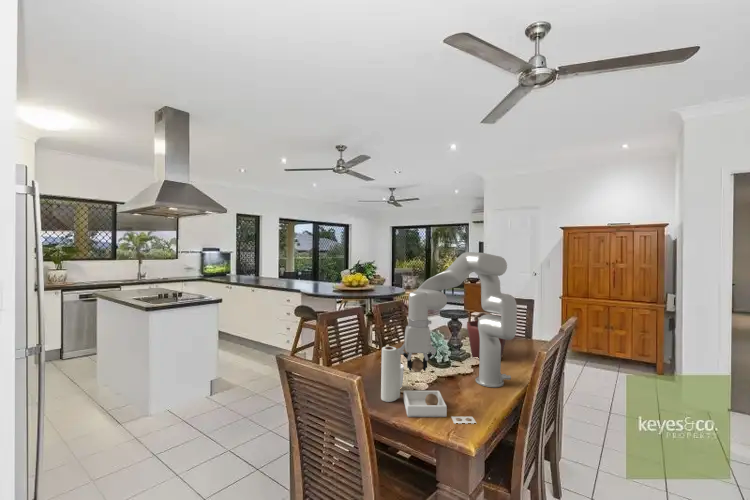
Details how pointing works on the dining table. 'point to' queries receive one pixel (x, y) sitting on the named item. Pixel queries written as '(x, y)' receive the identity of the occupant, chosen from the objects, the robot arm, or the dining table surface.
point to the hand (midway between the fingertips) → (417, 369)
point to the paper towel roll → (390, 374)
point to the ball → (431, 399)
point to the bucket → (475, 338)
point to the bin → (423, 404)
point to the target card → (463, 420)
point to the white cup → (401, 375)
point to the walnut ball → (417, 365)
